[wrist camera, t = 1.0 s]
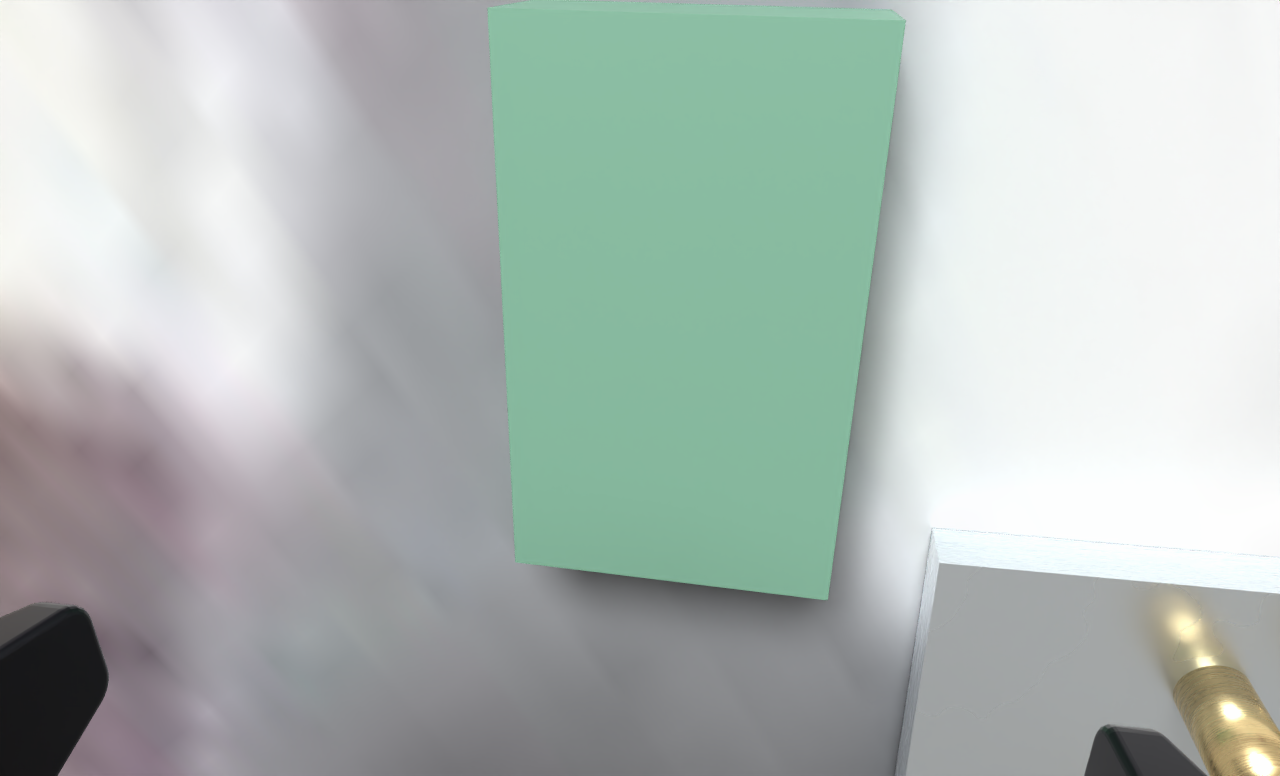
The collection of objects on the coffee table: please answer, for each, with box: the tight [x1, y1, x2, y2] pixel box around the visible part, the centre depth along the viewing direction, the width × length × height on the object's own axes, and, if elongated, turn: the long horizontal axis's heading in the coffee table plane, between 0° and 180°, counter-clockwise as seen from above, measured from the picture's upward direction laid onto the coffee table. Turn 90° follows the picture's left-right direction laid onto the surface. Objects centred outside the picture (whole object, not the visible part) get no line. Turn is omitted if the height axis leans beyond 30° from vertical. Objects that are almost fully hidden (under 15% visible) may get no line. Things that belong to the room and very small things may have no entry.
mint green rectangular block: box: [487, 0, 906, 600], centre depth 16 cm, size 10×6×3 cm, turn 179°
